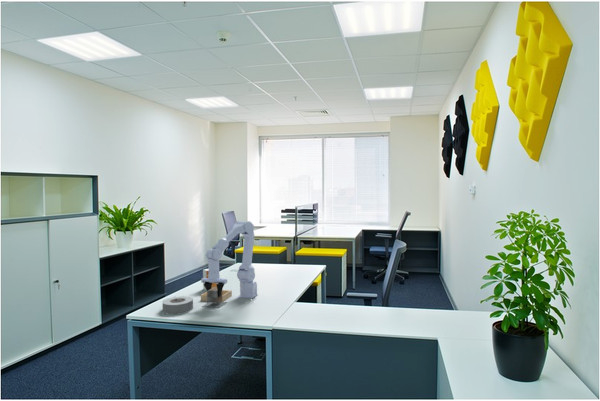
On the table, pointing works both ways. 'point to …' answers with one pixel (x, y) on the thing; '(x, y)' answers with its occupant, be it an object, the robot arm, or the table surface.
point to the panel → (214, 304)
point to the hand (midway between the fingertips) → (214, 296)
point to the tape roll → (177, 305)
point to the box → (213, 295)
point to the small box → (206, 275)
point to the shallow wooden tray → (225, 295)
